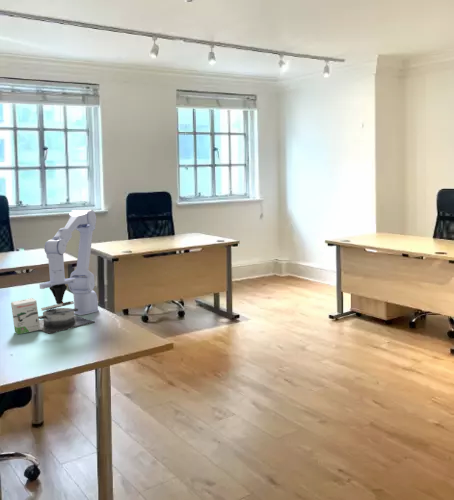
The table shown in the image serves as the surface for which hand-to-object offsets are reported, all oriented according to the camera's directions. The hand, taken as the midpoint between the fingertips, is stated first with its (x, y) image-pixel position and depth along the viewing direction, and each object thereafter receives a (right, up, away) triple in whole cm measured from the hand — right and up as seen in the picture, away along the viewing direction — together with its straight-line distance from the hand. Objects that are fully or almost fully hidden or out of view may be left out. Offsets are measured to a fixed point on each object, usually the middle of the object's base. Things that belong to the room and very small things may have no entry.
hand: (59, 303), depth 230 cm
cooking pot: (-1, -8, +2) cm, 8 cm away
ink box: (-10, -10, -7) cm, 16 cm away
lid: (0, -1, +1) cm, 1 cm away
